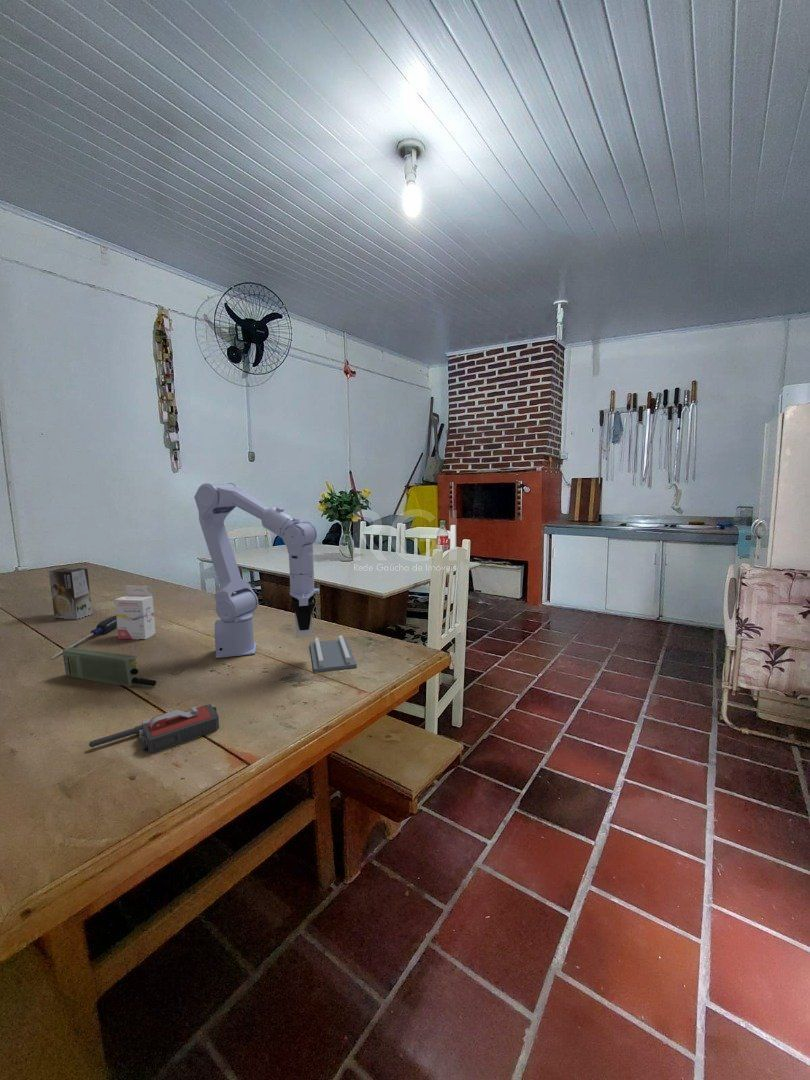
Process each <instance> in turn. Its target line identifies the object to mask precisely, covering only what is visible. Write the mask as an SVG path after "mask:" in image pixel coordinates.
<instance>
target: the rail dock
mask: <svg viewBox="0 0 810 1080" xmlns="http://www.w3.org/2000/svg"><path fill="white" fill-rule="evenodd" d="M309 646H310V647H309V648H310V654H311V662H312V668H313V673H320V672H330V671H339V670H347V669H354V668H358V667H357V661H356V660H355V657H354V654H353V652H352V649H351V647H350V644H349V641H348V639H347V638H344V636H343V635H342V634H341V635H338V639H331V640H321V641H320V638H319V637H315V638H314V641H312V642H309Z"/></svg>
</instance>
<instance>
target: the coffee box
mask: <svg viewBox="0 0 810 1080" xmlns="http://www.w3.org/2000/svg"><path fill="white" fill-rule="evenodd" d="M88 571H89V570H88V568H85V567H84V568H81V567H62V568H58V569H53V570H50V571H48V575H49V576H48V577H49V583H50V592H51V593H50V594H51V599H52V607H53V609H52V610H53V615H54V619H55V618H64V619H63V620H80V619H83V618H86V617H88V615H89V616H92V615H93V608H92V607H93V606H92V599H91V589H90V580H89V572H88ZM91 614H92V615H91ZM85 616H86V617H85ZM82 617H83V618H82ZM79 618H80V619H79Z"/></svg>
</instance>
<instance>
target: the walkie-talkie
mask: <svg viewBox="0 0 810 1080" xmlns="http://www.w3.org/2000/svg"><path fill="white" fill-rule="evenodd" d="M217 711H218V710H217V707H214V706H213V705H212V704H211V703H209V704H204V705H202V706H198V707H197V706H193V707H191V709H189V710H186V711H183V710H178V709H176V710H172V711H169V712H165V713H164V714H158V715H156V716H153V717H152V718H149V719H148V718H147V719H144V720H142V721H141V724H140V725H136V726H135V727H133V728H130V729H127V730H124V731H123V730H122V731H120V732H117V733H116V732H115V733H113V734H110V735H107V736H104V737H103V736H102V737H101V738H97V739H94V740H91V741H89V743H88V746H89V747H90V748H94V747H97V746H102V745H104V744H106V743H110V742H113V741H114V742H115V741H117V740H120V739H123V738H126V737H129V736H133V735H138V738H139V741H140V746H141V750H146V749H147V751H148V754H152V753H153V754H154V753H156V752H158V751H162V750H165V749H168V748H171V747H174V746H177V745H179V744H181V743H185V742H188V741H192V739H193V740H194V739H196V738H198V737H202V736H204V735H208V734H211V733H214V732H217V731H218V730H219V729H220V723H219V721H220V720H219V713H218V712H217Z"/></svg>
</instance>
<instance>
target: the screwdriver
mask: <svg viewBox="0 0 810 1080" xmlns="http://www.w3.org/2000/svg"><path fill="white" fill-rule="evenodd" d="M115 628H117V618H116V615H113V616H111V617H109V618H105V619H104V620H102V621H100V622H99V623H97V624H96V626H95V629H92V630H91V631H90V634H87V635H86V636H84V637H83V638H81V639H79V640H77V642H75V643H73V644H72V645H70V646H68V647H66V648H65V649H67V648H69V647H73V648H75V647H76V646H78V645H79V644H81V643H83V642H84V641H86V640H88V639H89V638H91V637H92V636H95V635H99V634H102V635H103V634H108V633H109V632H111V631H112V630H113V629H115ZM61 655H63V650H61V651H60V652H58V653H56V654H54V656H52V657H51V658H50V659H51V660H54V659H56V658H58V657H60V656H61Z"/></svg>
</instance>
